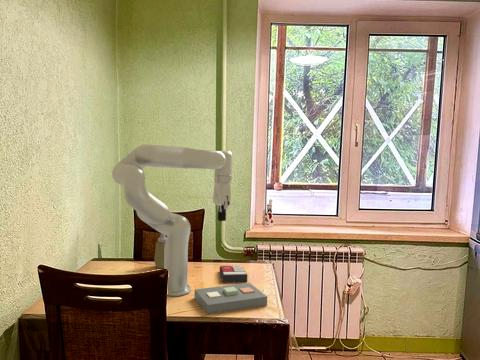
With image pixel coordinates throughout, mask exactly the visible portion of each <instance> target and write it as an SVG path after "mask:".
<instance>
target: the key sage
mask: <svg viewBox="0 0 480 360" xmlns="http://www.w3.org/2000/svg"><path fill="white" fill-rule="evenodd" d="M223 293H224V294H225V295H226V296H231V295H238V290H237V289H236V288H235V287H227V288H223Z"/></svg>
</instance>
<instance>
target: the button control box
mask: <svg viewBox="0 0 480 360" xmlns="http://www.w3.org/2000/svg"><path fill="white" fill-rule="evenodd" d="M219 274H220V277H221V281H222V283H223V284H225V283H230V284H231V283H248V273H247V272H246V270H245V268H244V267H243V266H242V265H241V264H240V265H237V264H235V265H220V266H219Z"/></svg>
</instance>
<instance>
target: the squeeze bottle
mask: <svg viewBox="0 0 480 360" xmlns="http://www.w3.org/2000/svg"><path fill="white" fill-rule="evenodd" d="M166 240H167V236H166V235H164V234H162V233H160V236H159V237H158V238H157V242H156V243H155V250H154V258H153V261H154V264H155V268H157V269H159V270H160V269H161V270H162V268H164V248H165V243H166Z"/></svg>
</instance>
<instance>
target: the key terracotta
mask: <svg viewBox="0 0 480 360" xmlns="http://www.w3.org/2000/svg"><path fill="white" fill-rule="evenodd" d="M239 290H240V291H241V292H242V293H243V294H246V293H254V290H252V289H251V288H250V287H247V288H239Z"/></svg>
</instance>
